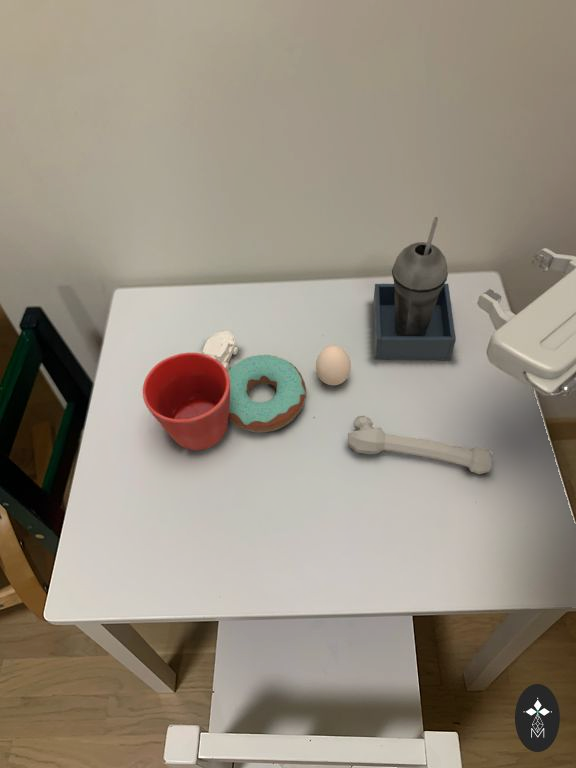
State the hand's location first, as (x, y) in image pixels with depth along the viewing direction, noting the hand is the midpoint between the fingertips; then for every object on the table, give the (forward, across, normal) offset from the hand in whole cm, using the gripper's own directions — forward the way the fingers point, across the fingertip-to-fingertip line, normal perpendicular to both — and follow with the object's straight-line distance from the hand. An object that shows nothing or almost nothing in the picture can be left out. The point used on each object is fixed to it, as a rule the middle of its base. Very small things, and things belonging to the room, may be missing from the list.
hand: (510, 275), depth 66 cm
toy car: (+27, -25, -20) cm, 42 cm away
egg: (+13, -15, -20) cm, 28 cm away
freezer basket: (+12, 0, -20) cm, 23 cm away
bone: (-3, -15, -20) cm, 25 cm away
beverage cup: (+12, 0, -20) cm, 23 cm away
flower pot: (+20, -33, -20) cm, 44 cm away
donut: (+17, -24, -20) cm, 36 cm away
